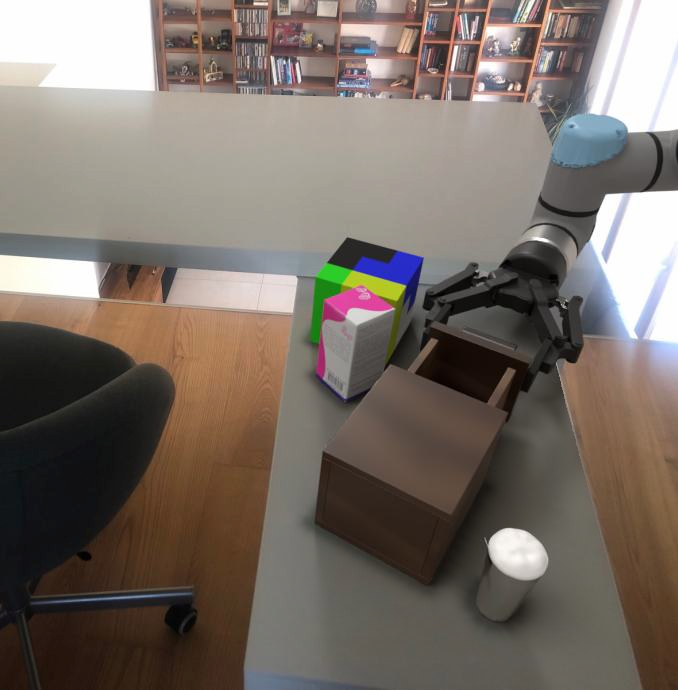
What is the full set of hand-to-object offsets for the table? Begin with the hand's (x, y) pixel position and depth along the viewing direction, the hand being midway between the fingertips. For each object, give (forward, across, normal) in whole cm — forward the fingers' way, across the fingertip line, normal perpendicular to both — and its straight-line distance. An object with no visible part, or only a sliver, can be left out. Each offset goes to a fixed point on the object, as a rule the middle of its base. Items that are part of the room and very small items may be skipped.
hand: (473, 362), depth 75 cm
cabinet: (+16, 0, -7) cm, 18 cm away
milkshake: (+22, -11, -7) cm, 25 cm away
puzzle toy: (-6, +16, -7) cm, 18 cm away
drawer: (+3, 0, -6) cm, 7 cm away
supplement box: (+3, +13, -7) cm, 15 cm away
